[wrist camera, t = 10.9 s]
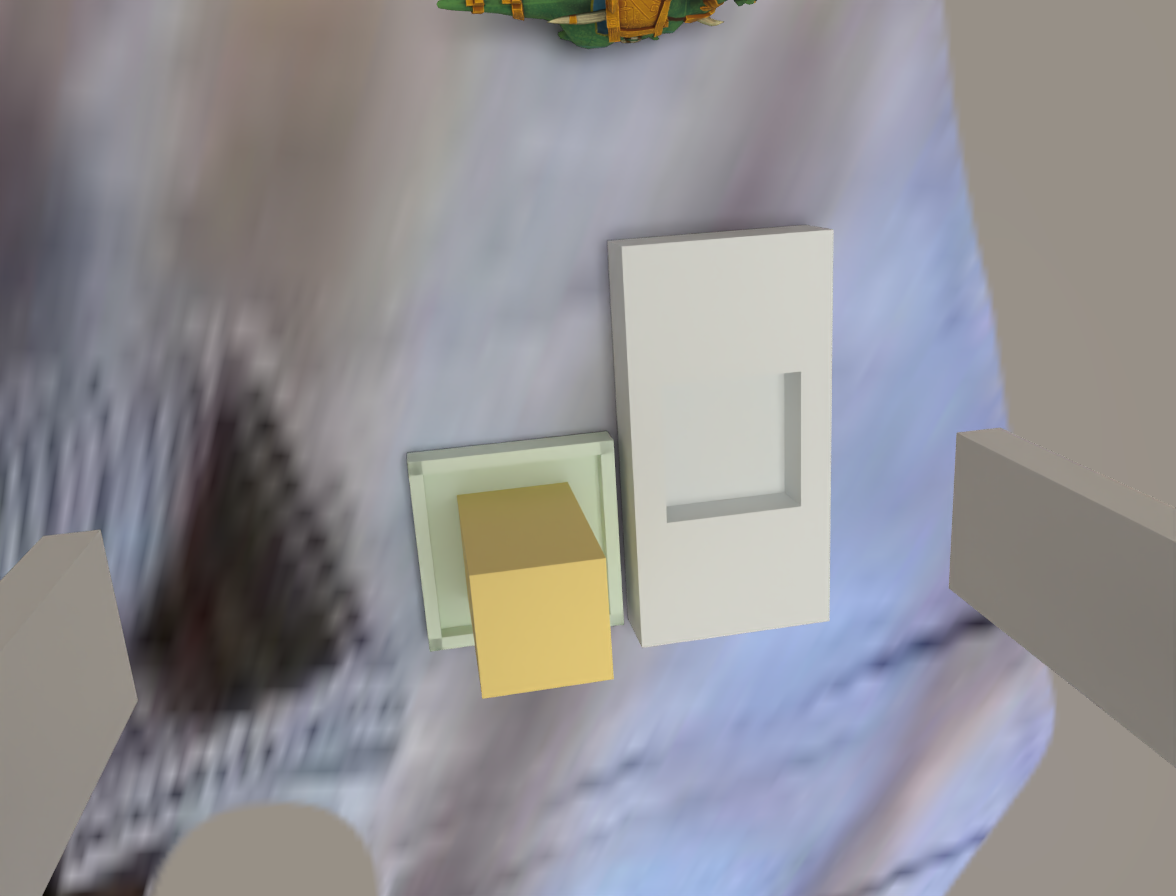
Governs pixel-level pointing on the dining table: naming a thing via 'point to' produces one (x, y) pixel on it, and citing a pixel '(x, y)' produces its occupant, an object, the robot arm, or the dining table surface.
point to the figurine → (601, 16)
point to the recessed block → (724, 429)
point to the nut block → (534, 590)
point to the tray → (503, 468)
